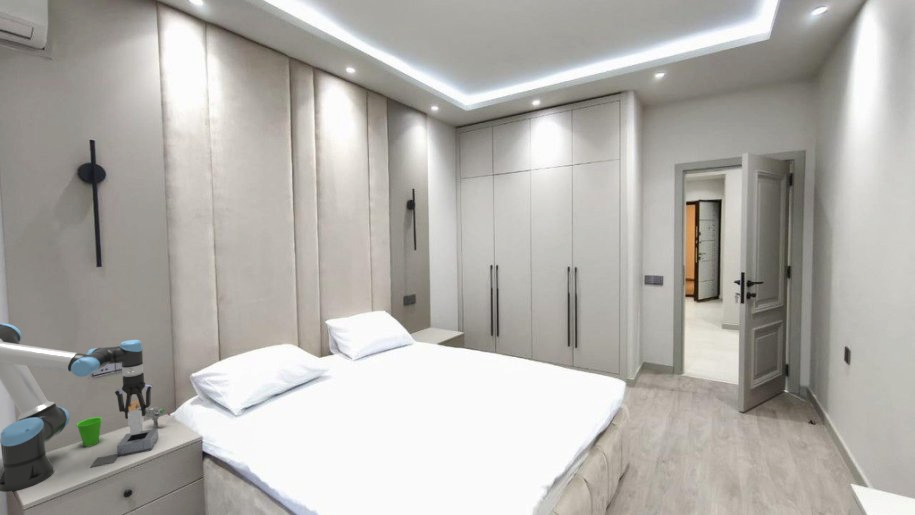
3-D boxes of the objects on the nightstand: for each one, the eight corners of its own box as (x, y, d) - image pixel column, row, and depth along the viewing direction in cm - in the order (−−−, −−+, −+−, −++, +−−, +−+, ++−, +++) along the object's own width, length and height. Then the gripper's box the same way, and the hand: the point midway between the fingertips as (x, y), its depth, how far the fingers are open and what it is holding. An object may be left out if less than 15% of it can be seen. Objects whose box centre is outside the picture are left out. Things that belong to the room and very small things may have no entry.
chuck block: (117, 457, 175) (116, 446, 175) (126, 444, 186) (126, 434, 186) (151, 450, 180) (150, 439, 180) (158, 438, 191) (157, 428, 191)
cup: (109, 439, 192) (107, 417, 191) (90, 449, 183) (88, 426, 182) (92, 438, 193) (90, 416, 192) (72, 448, 184) (70, 425, 183)
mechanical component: (161, 429, 200) (160, 410, 199) (145, 428, 202) (143, 409, 201) (166, 426, 203) (165, 407, 202) (150, 425, 205) (149, 406, 204)
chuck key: (129, 437, 178) (127, 407, 178) (134, 429, 186) (133, 400, 185) (138, 435, 180) (136, 405, 179) (144, 428, 187) (142, 399, 186)
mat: (89, 467, 168) (89, 466, 168) (97, 458, 175) (97, 457, 175) (113, 462, 171) (113, 461, 171) (120, 453, 178) (120, 452, 178)
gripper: (106, 379, 174) (110, 431, 176) (153, 373, 181) (156, 423, 183) (113, 374, 181) (116, 424, 183) (157, 368, 188) (160, 416, 189)
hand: (136, 423), depth 183 cm, fingers closed on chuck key, 3 cm apart
